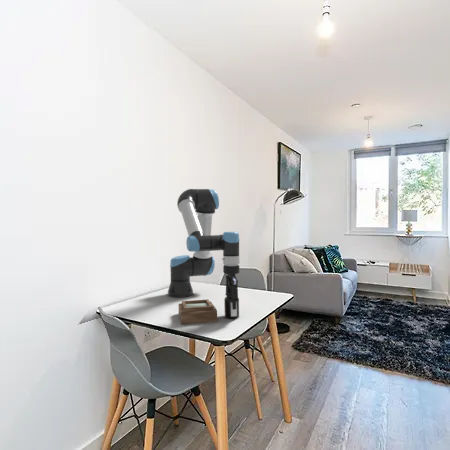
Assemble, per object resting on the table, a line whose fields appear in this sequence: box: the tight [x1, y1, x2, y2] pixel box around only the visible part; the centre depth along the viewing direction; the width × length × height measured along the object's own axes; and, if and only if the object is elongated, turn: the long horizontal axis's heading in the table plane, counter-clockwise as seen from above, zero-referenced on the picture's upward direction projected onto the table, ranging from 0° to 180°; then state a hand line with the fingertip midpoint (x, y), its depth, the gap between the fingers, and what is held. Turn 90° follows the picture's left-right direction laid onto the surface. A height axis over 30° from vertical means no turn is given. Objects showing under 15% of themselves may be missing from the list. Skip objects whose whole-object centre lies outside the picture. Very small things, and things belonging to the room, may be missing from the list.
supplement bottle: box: [224, 290, 240, 320], centre depth 148 cm, size 7×7×12 cm
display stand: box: [178, 299, 218, 326], centre depth 148 cm, size 16×16×6 cm
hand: (231, 313), depth 148 cm, fingers closed on supplement bottle, 7 cm apart
